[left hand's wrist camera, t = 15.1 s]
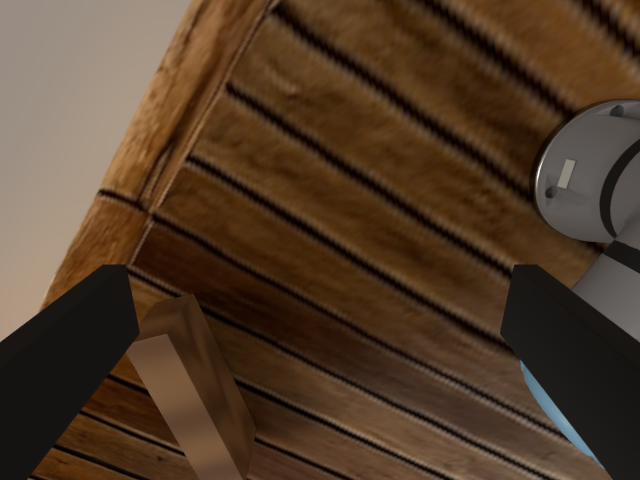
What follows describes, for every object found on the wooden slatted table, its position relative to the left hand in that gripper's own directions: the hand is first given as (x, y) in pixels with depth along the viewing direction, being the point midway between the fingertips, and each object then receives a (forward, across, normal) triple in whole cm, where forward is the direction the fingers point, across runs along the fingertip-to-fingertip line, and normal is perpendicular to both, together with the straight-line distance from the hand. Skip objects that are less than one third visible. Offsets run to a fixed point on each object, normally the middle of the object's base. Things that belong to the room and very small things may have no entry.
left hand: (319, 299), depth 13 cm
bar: (+30, -15, -29) cm, 44 cm away
